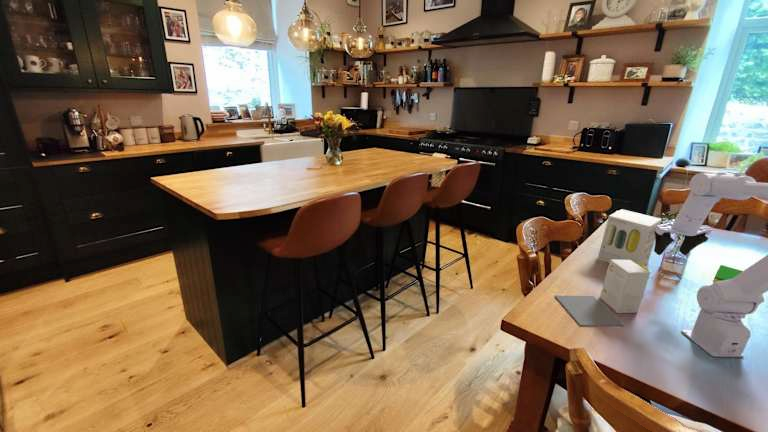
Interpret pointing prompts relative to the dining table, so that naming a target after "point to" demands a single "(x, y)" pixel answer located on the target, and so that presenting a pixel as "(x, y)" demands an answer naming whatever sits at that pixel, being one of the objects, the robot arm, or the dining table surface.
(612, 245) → the supplement box
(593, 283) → the dining table surface
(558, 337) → the dining table surface
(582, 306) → the slate rubber mat
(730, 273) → the dish sponge
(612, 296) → the small box
